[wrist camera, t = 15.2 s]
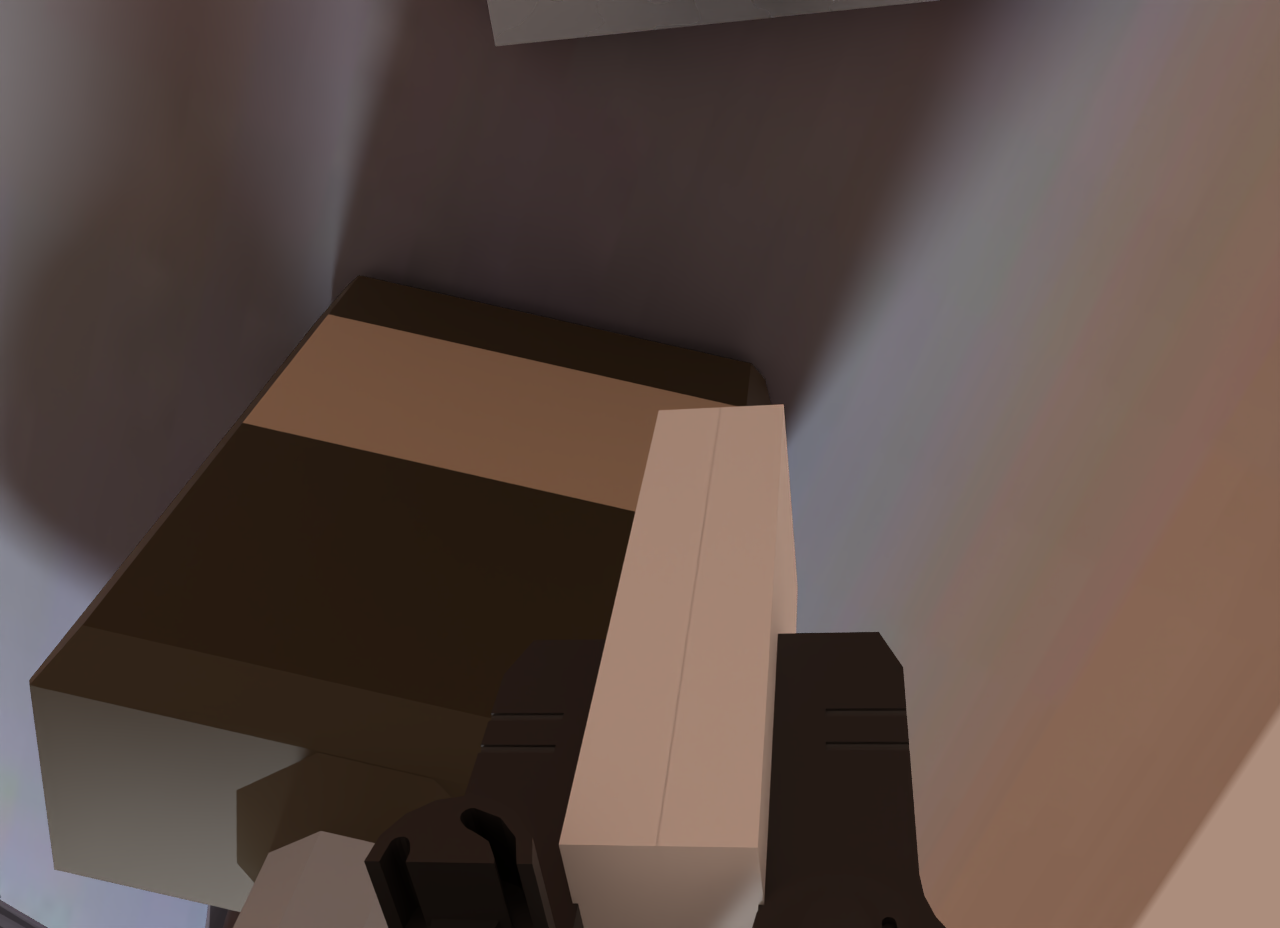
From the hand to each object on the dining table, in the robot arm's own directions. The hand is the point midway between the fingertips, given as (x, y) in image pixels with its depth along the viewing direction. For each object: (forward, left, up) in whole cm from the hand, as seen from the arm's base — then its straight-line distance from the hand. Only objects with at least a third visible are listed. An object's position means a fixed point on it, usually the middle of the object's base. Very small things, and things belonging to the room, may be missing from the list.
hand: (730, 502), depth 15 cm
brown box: (-9, -12, -25) cm, 29 cm away
